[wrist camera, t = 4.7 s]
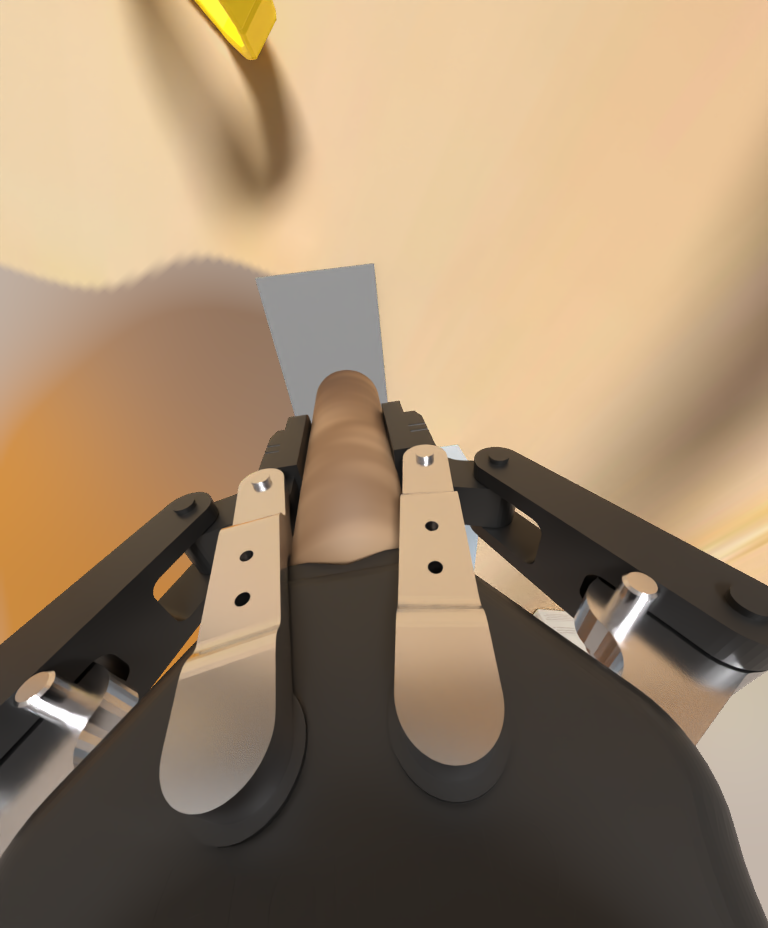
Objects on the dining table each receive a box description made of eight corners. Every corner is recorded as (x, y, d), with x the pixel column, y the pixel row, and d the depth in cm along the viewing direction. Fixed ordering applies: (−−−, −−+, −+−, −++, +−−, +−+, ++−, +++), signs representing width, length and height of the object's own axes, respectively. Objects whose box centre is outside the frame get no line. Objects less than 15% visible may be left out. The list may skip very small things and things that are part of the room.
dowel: (374, 365, 14) (419, 525, 6) (381, 423, 16) (423, 607, 8) (309, 374, 14) (266, 549, 6) (323, 431, 16) (306, 627, 8)
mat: (373, 263, 16) (373, 263, 16) (389, 431, 22) (390, 433, 22) (256, 277, 16) (254, 278, 16) (304, 443, 22) (304, 447, 21)
